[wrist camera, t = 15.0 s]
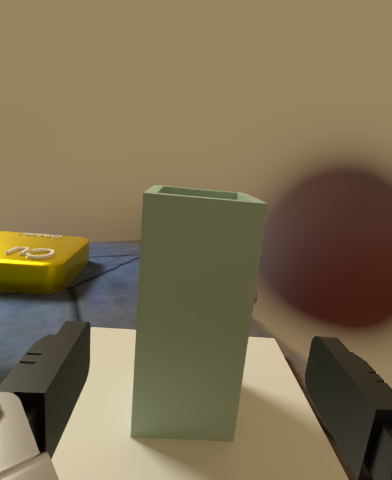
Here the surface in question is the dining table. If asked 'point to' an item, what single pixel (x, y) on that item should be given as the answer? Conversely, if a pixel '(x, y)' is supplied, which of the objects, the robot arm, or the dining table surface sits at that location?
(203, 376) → the hollow square tube
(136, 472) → the base plate
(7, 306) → the dining table surface
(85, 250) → the element tile
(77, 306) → the dining table surface
